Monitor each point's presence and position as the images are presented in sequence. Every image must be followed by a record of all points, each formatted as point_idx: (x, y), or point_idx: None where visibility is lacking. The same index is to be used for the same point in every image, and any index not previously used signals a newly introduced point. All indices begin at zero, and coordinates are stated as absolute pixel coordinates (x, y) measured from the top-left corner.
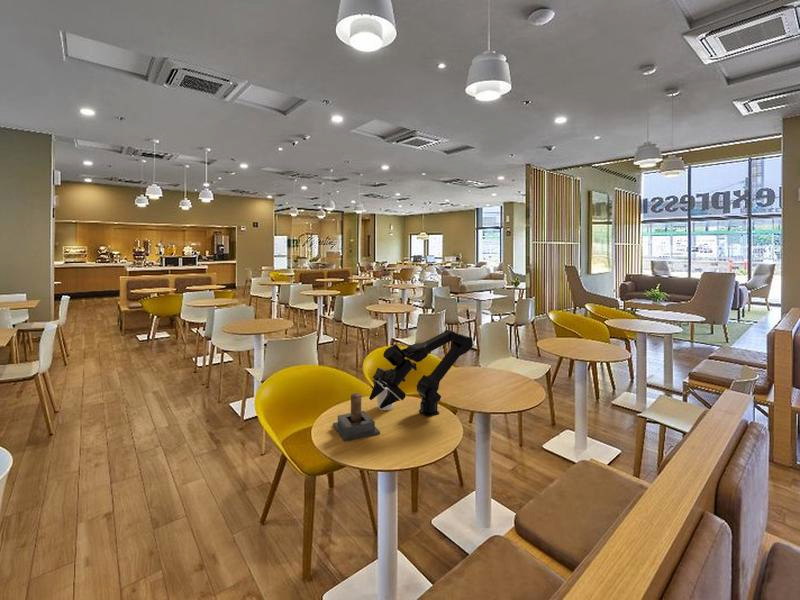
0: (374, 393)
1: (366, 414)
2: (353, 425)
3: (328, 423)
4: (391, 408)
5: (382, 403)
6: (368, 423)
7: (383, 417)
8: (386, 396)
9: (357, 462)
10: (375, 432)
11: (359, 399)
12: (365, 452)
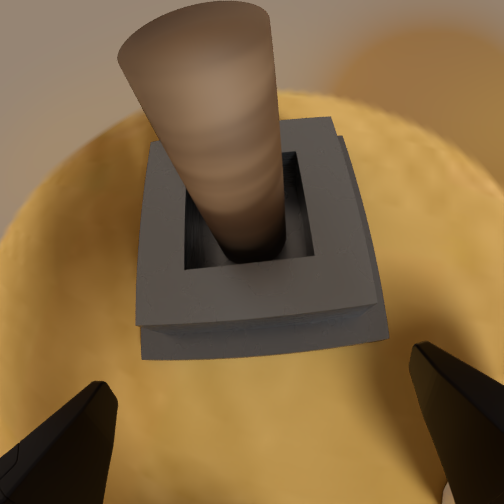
0: (460, 429)
1: (294, 305)
2: (155, 174)
3: (367, 134)
4: None
5: (59, 411)
6: (138, 273)
7: (367, 459)
8: (7, 486)
9: (30, 197)
10: (142, 329)
11: (133, 88)
12: (51, 234)
